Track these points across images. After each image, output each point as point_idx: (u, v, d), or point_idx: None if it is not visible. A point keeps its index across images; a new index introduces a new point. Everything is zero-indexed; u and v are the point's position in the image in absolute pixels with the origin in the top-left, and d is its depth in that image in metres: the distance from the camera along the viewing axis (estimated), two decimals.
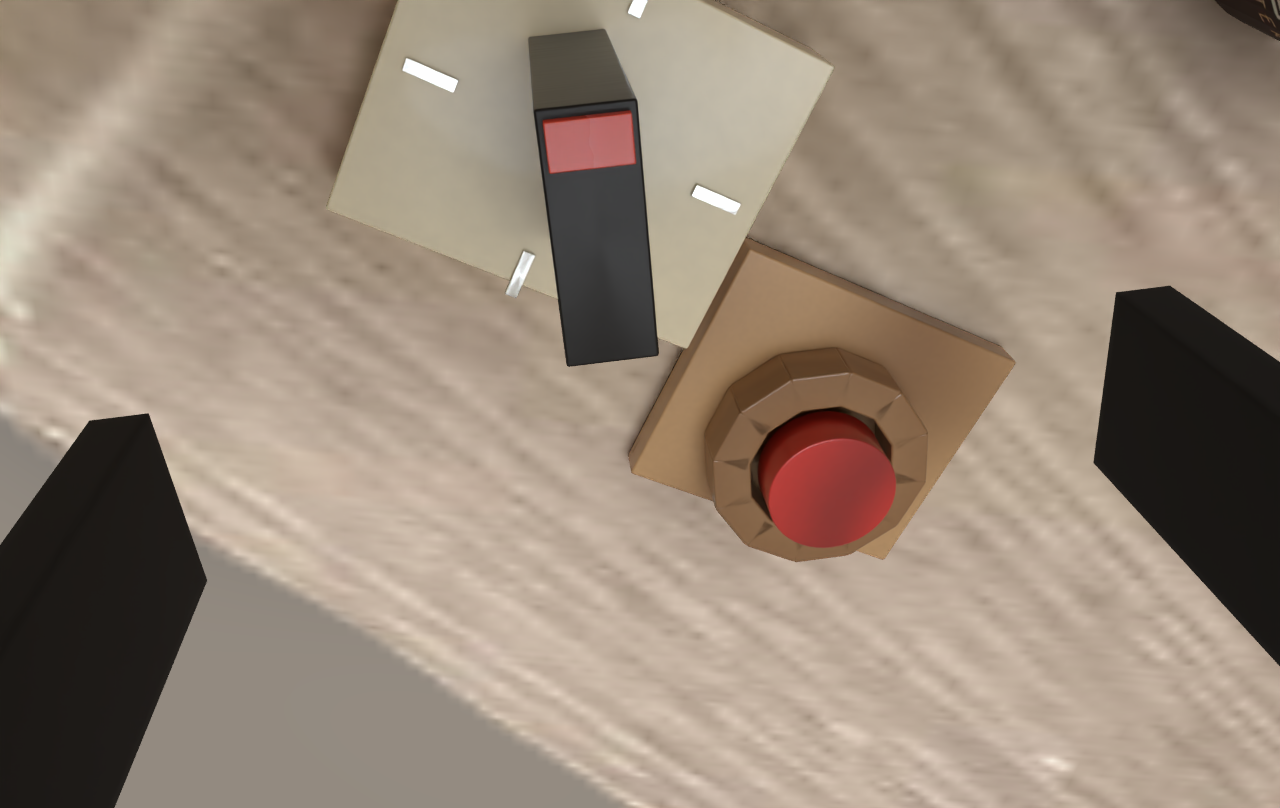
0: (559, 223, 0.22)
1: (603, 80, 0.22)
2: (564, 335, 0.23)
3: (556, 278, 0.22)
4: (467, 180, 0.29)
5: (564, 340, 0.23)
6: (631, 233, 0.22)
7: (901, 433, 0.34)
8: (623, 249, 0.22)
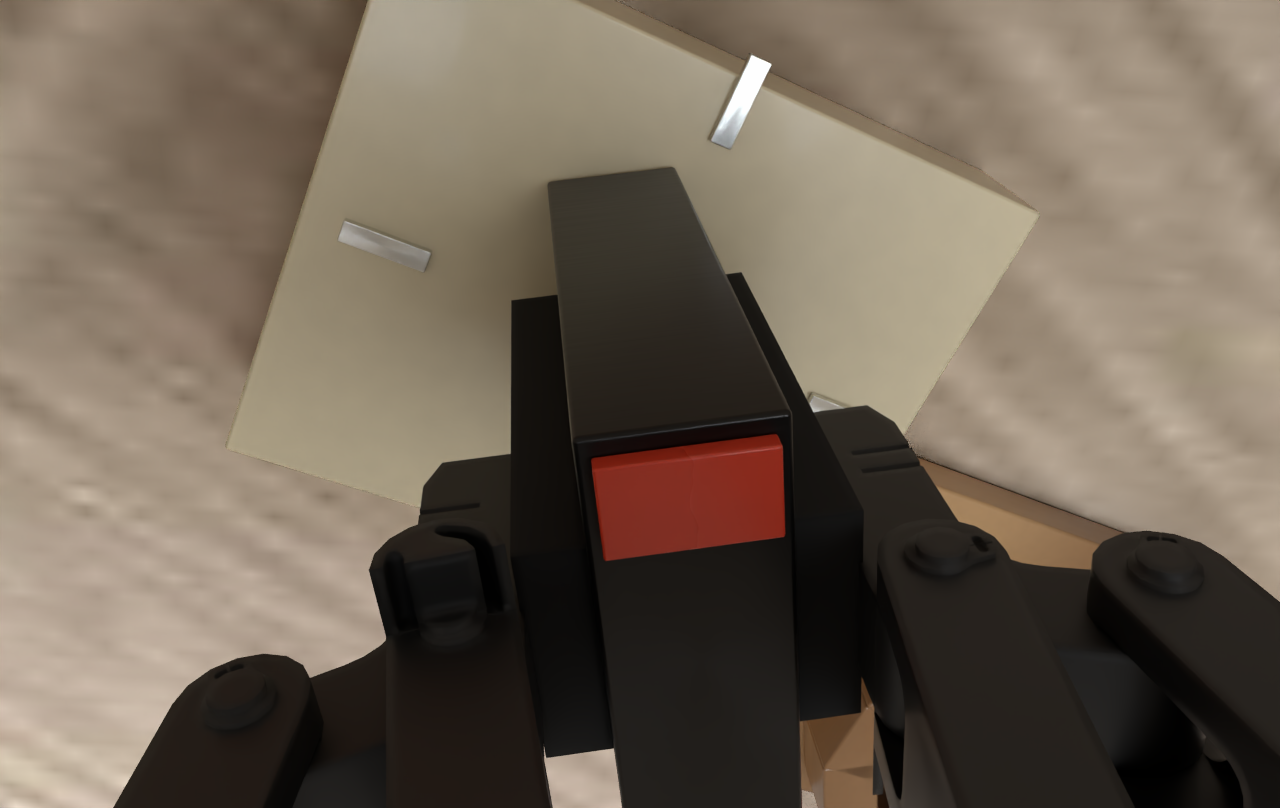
0: (621, 636, 0.11)
1: (704, 330, 0.11)
2: None
3: (613, 723, 0.11)
4: (450, 399, 0.18)
5: None
6: (764, 645, 0.11)
7: None
8: (747, 671, 0.11)
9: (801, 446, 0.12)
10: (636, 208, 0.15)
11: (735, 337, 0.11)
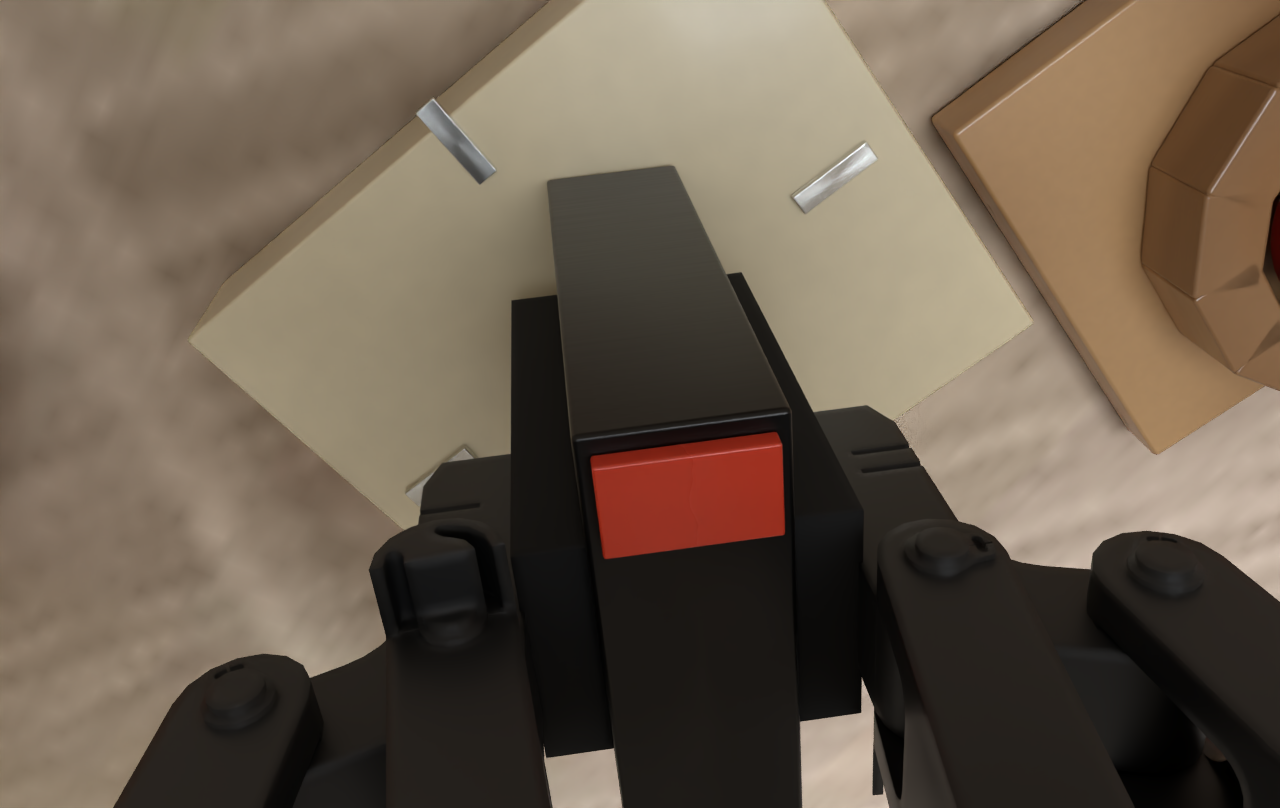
0: (620, 634, 0.11)
1: (704, 328, 0.11)
2: None
3: (613, 721, 0.11)
4: None
5: None
6: (765, 645, 0.11)
7: None
8: (746, 670, 0.11)
9: (801, 446, 0.12)
10: (636, 206, 0.15)
11: (735, 335, 0.11)
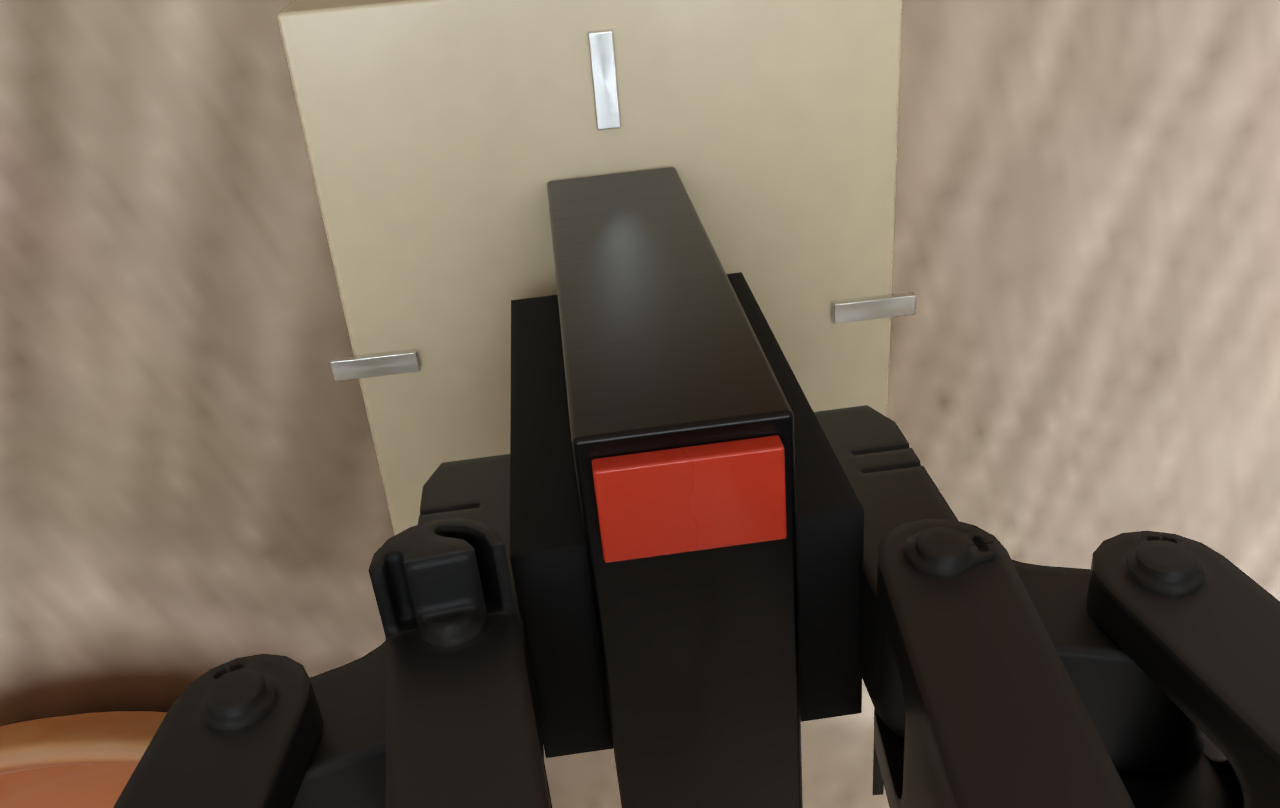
0: (621, 638, 0.11)
1: (705, 331, 0.11)
2: None
3: (613, 725, 0.11)
4: None
5: None
6: (765, 647, 0.11)
7: None
8: (748, 673, 0.11)
9: (801, 446, 0.12)
10: (636, 208, 0.15)
11: (736, 338, 0.11)
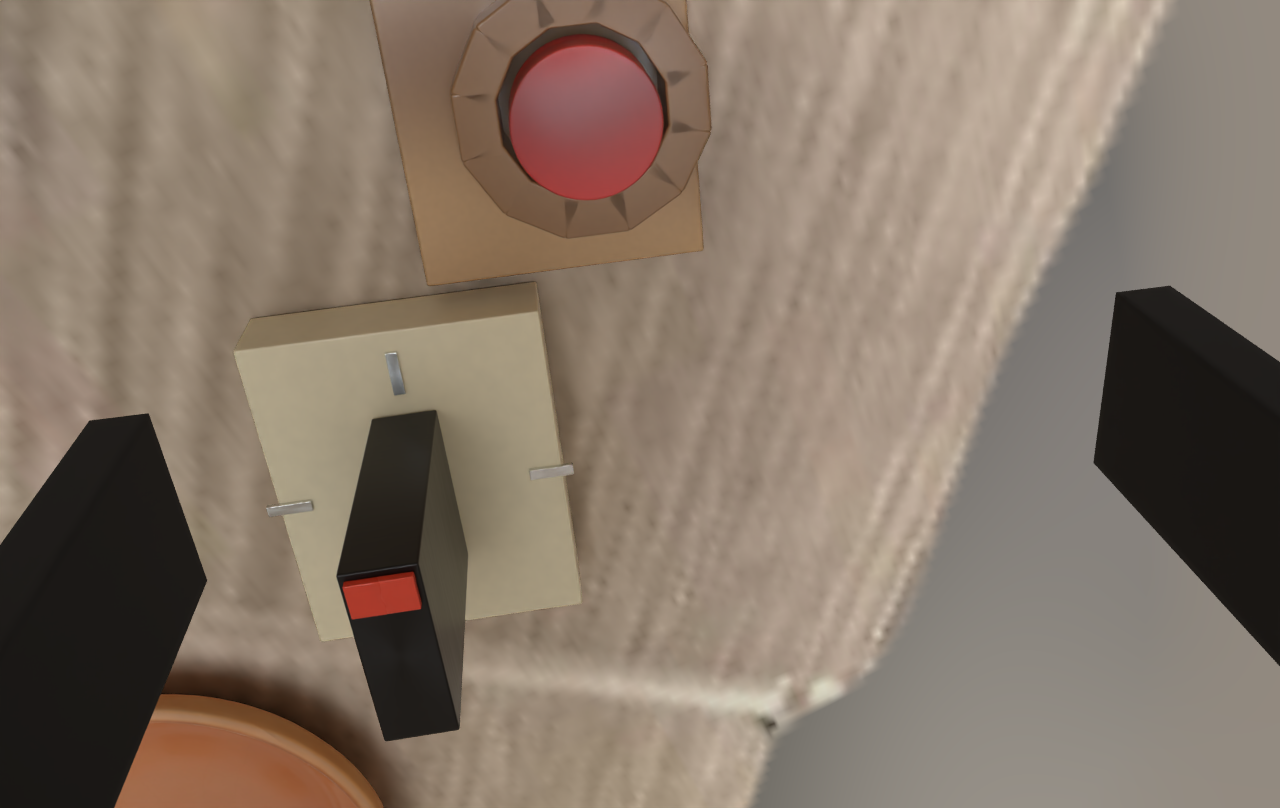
0: (366, 647, 0.27)
1: (403, 522, 0.28)
2: (379, 720, 0.28)
3: (368, 683, 0.28)
4: (502, 537, 0.35)
5: (380, 723, 0.28)
6: (425, 650, 0.27)
7: (492, 58, 0.28)
8: (420, 661, 0.27)
9: None
10: (405, 442, 0.31)
11: (414, 526, 0.27)
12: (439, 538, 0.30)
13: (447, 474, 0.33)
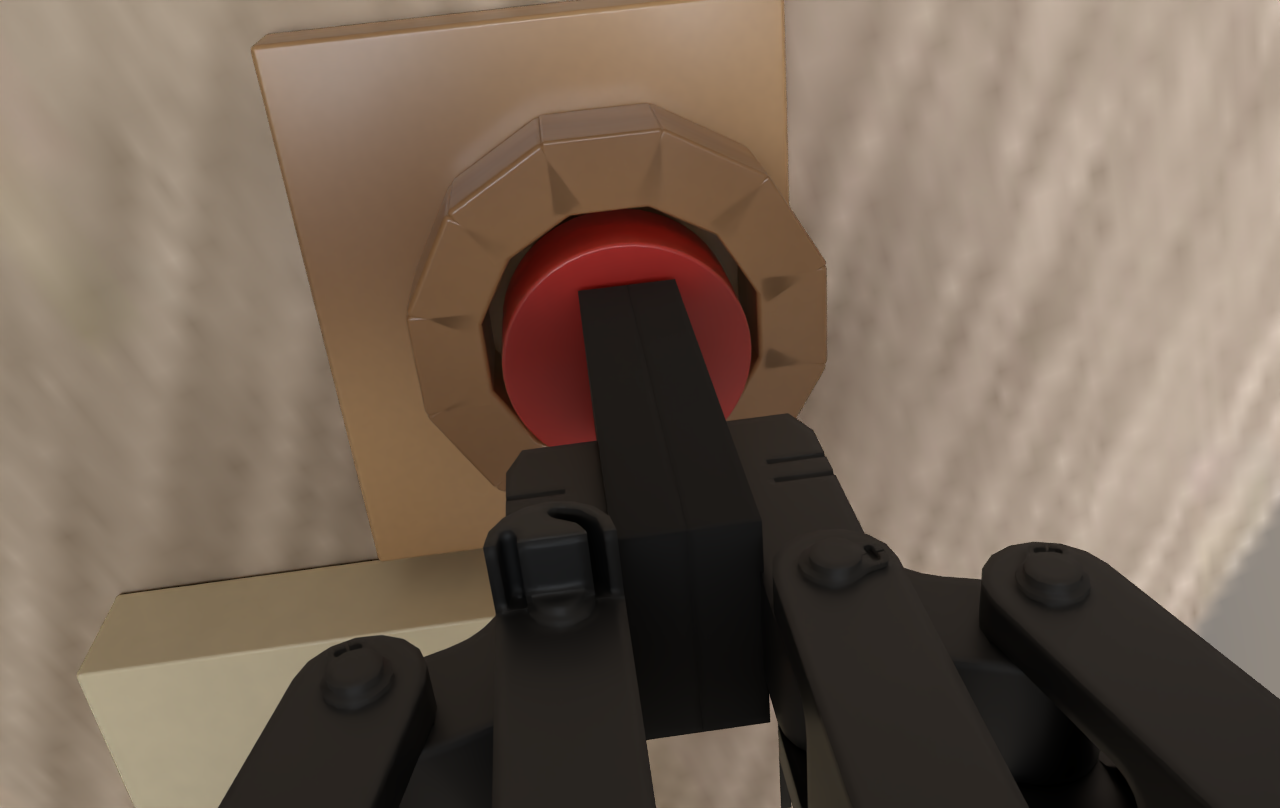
0: None
1: None
2: None
3: None
4: None
5: None
6: None
7: (476, 262, 0.17)
8: None
9: (709, 455, 0.12)
10: None
11: None
12: None
13: None
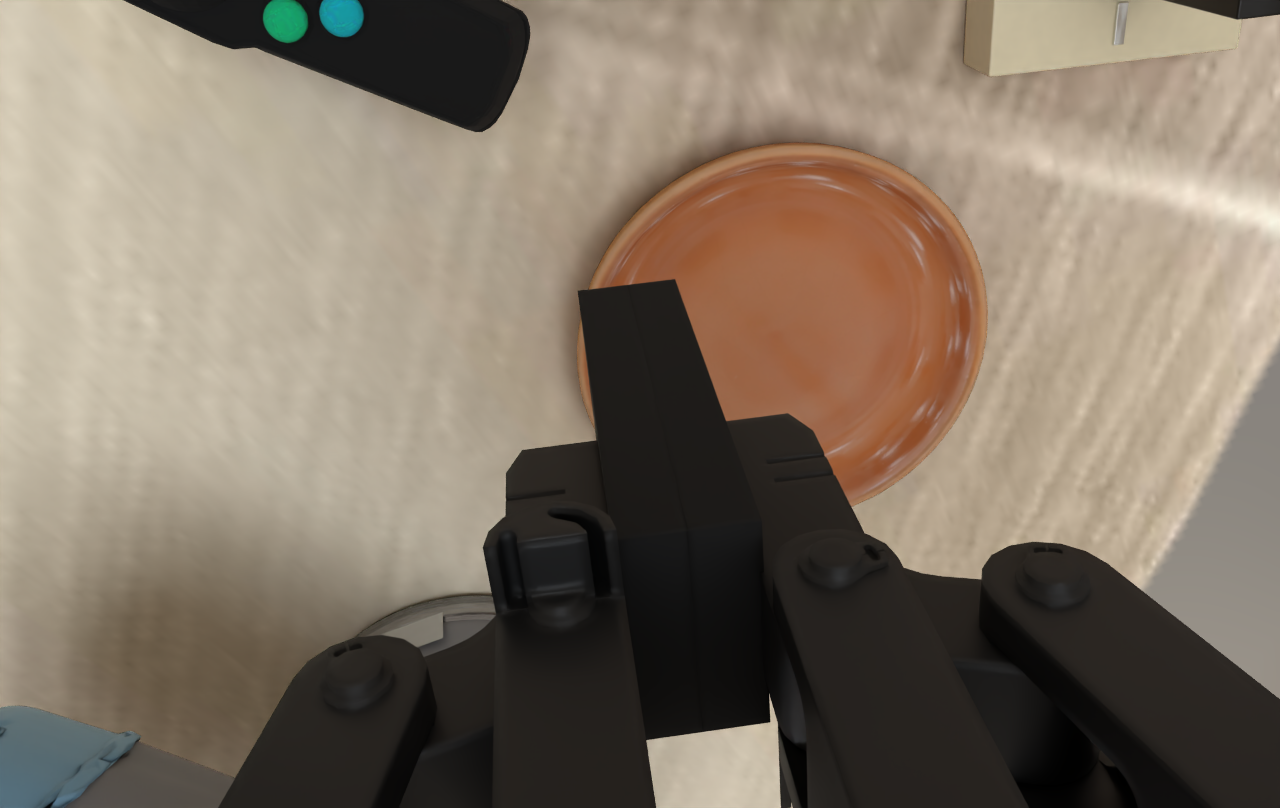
0: None
1: None
2: None
3: None
4: None
5: None
6: None
7: None
8: None
9: (709, 456, 0.12)
10: None
11: None
12: None
13: None
